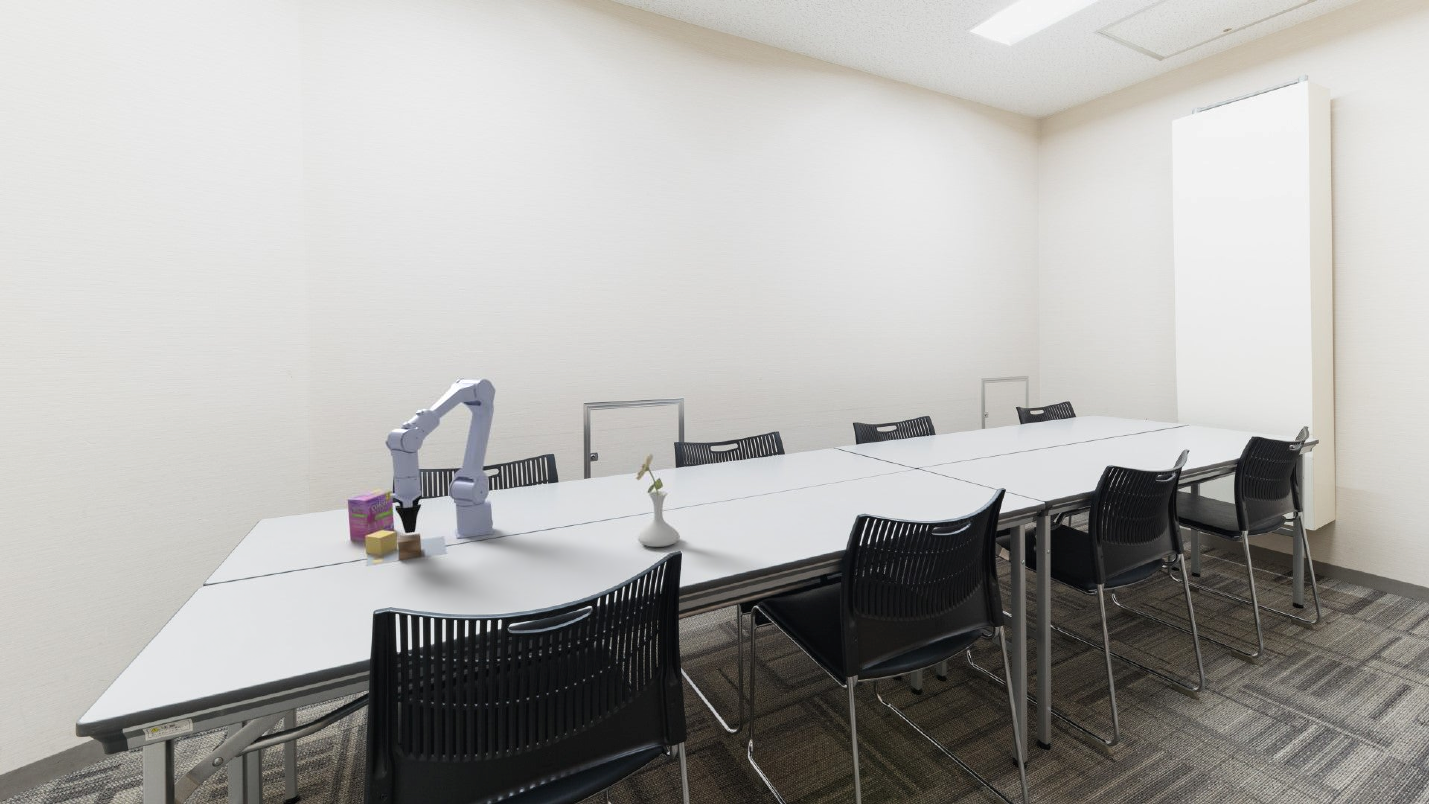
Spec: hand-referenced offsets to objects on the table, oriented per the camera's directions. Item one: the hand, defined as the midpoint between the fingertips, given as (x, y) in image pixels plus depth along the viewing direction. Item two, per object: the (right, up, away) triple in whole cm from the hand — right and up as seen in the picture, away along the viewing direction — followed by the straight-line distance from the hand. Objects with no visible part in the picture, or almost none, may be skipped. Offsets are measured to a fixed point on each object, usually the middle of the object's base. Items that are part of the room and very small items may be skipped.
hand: (410, 527), depth 151 cm
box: (-19, -6, +17) cm, 26 cm away
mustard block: (-9, -7, +4) cm, 12 cm away
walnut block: (0, -7, +1) cm, 7 cm away
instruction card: (-3, -7, +4) cm, 9 cm away
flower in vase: (+62, -6, +8) cm, 63 cm away
